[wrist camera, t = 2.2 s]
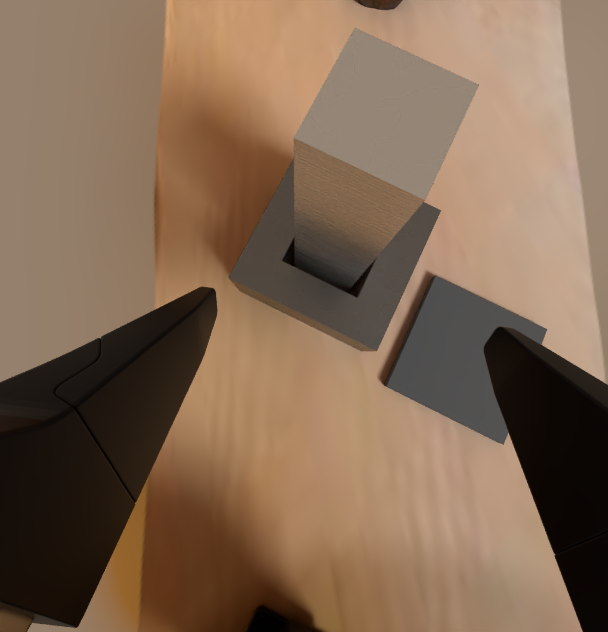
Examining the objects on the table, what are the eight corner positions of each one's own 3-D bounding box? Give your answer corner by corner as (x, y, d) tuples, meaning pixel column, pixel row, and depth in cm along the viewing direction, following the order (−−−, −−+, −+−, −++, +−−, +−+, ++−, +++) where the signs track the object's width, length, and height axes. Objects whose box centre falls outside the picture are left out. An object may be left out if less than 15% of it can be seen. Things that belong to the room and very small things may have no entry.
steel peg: (342, 297, 22) (425, 199, 8) (294, 274, 22) (293, 137, 8) (364, 251, 22) (479, 84, 8) (317, 229, 22) (354, 27, 9)
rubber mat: (497, 442, 21) (503, 444, 20) (384, 385, 21) (386, 386, 20) (540, 329, 22) (547, 329, 21) (432, 277, 22) (436, 275, 22)
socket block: (361, 351, 21) (376, 351, 17) (240, 291, 22) (228, 277, 18) (415, 235, 23) (441, 210, 19) (300, 180, 23) (301, 144, 19)
